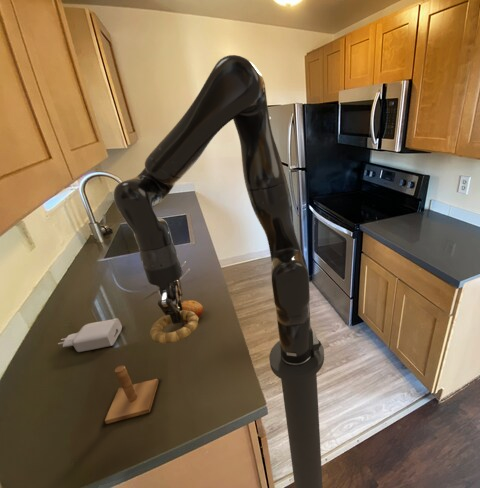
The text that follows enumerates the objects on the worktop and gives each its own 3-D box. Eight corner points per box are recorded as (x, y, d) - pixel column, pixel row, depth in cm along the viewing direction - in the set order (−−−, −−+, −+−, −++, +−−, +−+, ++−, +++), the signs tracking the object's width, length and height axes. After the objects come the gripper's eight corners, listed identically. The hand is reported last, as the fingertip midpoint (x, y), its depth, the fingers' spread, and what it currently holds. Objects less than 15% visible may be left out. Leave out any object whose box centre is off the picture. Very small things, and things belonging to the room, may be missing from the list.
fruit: (170, 317, 96) (178, 296, 96) (192, 317, 102) (200, 297, 102) (177, 328, 91) (186, 306, 90) (201, 328, 96) (208, 307, 96)
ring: (201, 312, 76) (199, 305, 75) (196, 339, 67) (194, 331, 66) (157, 320, 73) (155, 313, 72) (146, 350, 64) (143, 342, 63)
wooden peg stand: (158, 381, 74) (146, 350, 69) (149, 412, 66) (135, 379, 61) (120, 391, 72) (105, 359, 67) (106, 424, 64) (88, 390, 59)
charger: (70, 337, 90) (122, 327, 94) (54, 358, 82) (112, 347, 86) (64, 326, 88) (118, 316, 92) (47, 346, 80) (106, 335, 84)
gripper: (172, 272, 61) (190, 332, 68) (182, 247, 73) (196, 301, 81) (134, 278, 59) (156, 340, 66) (151, 251, 72) (168, 306, 79)
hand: (178, 318), depth 73 cm, fingers closed on ring, 2 cm apart
